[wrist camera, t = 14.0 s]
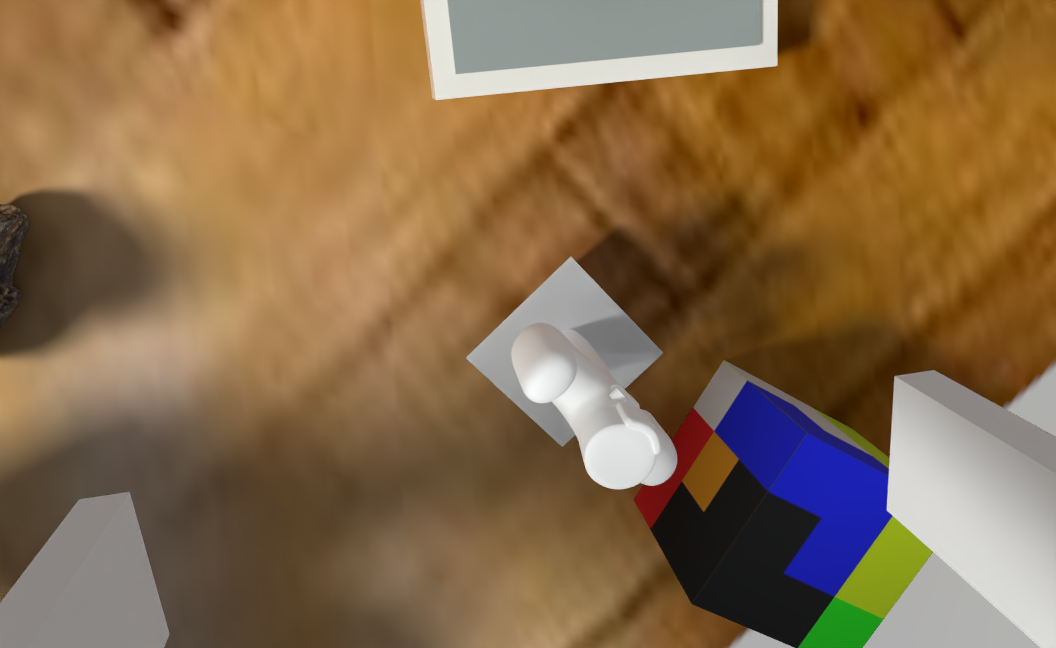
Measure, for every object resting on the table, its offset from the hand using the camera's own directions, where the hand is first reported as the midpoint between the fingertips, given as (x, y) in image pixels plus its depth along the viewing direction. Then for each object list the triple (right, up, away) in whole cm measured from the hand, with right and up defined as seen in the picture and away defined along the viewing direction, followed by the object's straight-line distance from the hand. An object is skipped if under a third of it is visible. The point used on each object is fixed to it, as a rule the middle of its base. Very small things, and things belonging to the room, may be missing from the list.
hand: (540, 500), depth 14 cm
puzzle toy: (+13, -5, +34) cm, 37 cm away
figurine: (+1, +3, +30) cm, 30 cm away
